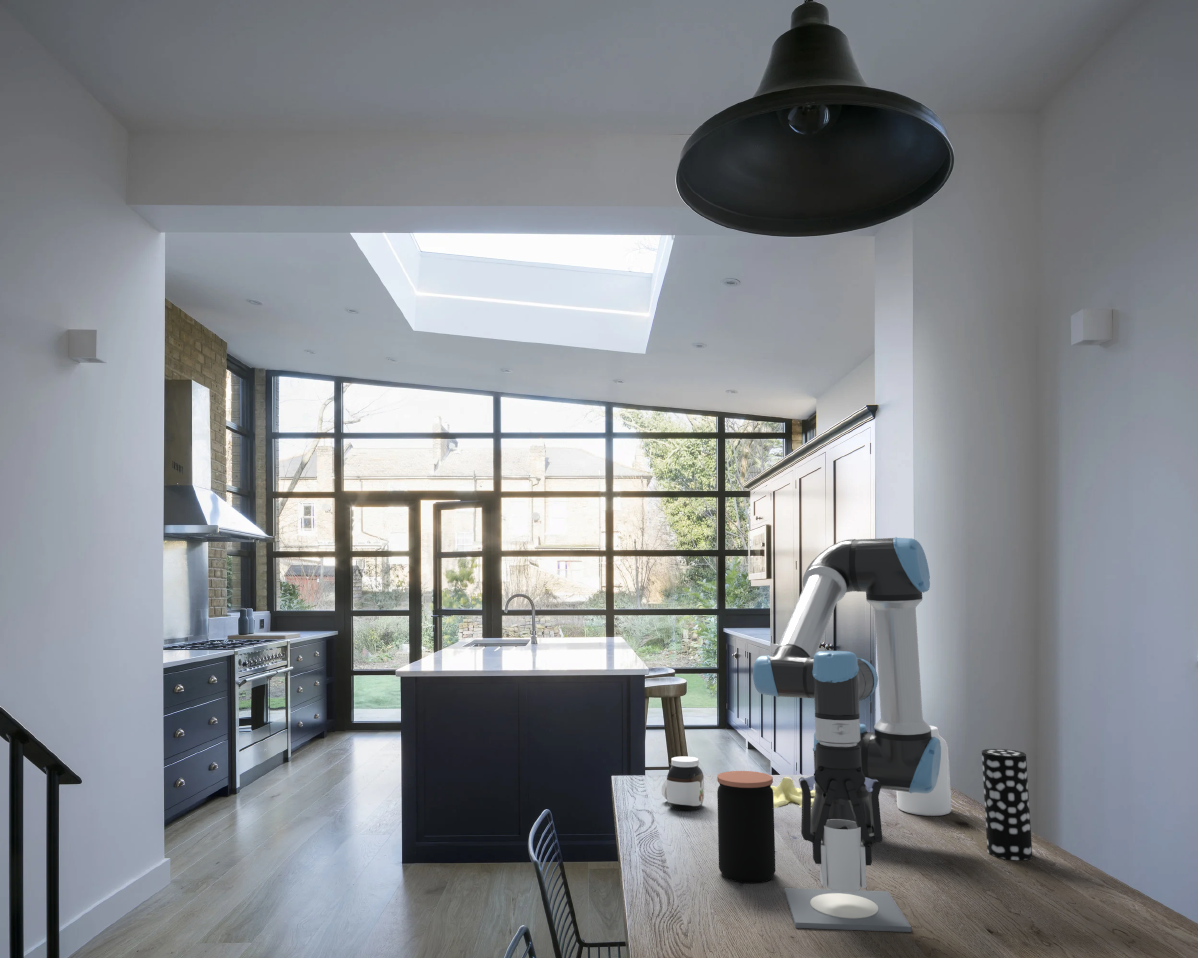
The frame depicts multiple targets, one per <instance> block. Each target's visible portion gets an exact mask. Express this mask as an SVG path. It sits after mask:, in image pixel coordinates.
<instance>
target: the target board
mask: <svg viewBox="0 0 1198 958" xmlns="http://www.w3.org/2000/svg"><path fill="white" fill-rule="evenodd" d="M784 895H785V898H786V901H787V905H788V907H789V911H790V915H791V917H792V920H793V924H794V926H795V927H794V928H797V929H819V930H822V929H823V930H842V931H843V930H845V931H847V930H848V931H870V932H872V931H873V932H874V931H876V932H898V933H901V932H902V933H912V926H911V924H910V922H909V921H908V919H907V918H906V916H905V914H904V913H903V911H902V910H901V908H900V907H899V906H898V904H897V903H896V901H895V900H894V898H893V896H892V895H891V893H890V892H889V890H866V889H865V890H863V889H860V890H858V891H855V892H840V891H835V890H832V889H830V888H804V887H803V888H799V887H797V888H796V887H784Z"/></svg>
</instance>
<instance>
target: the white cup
mask: <svg viewBox="0 0 1198 958" xmlns="http://www.w3.org/2000/svg"><path fill="white" fill-rule="evenodd" d="M822 843H823V844H824V845H825V846H826V868H827V886H826V887H827V889H832V890H835V891H840V892H855V891H858V890H862V889H861V888H862V887H861V853H860V847H861V827H859V828H858V827H857V824H856V822H854V821H849V820H842V819H830V820H827V822H826V826H824V833H823V837H822Z"/></svg>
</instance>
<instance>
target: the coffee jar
mask: <svg viewBox="0 0 1198 958" xmlns="http://www.w3.org/2000/svg"><path fill="white" fill-rule="evenodd" d="M716 779H717V780H716V781H717V782H718V783H719V786H718V787H717V791H716V792H717V794H716V795H717V840H718V841H717V842H718V843H717V844H718V847H717V848H718V869H719V872H721V874H722V876H723V877H724V878H725V879H728V880H729V881H733V882H737V883H741V884H742V883H744V884H759V883H765V882H768V881H769V880H771V879H772V878H773V876H774V875H775V873H776V843H775V842H776V841H775V839H776V838H775V808H774V798H773V789H772V788H771V786H773V783H774V779H773V775H770V774H768V773H764V772H761V771H760V772H759V771H752V770H732V771H724V772H720V773H719V774H717V777H716Z"/></svg>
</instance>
